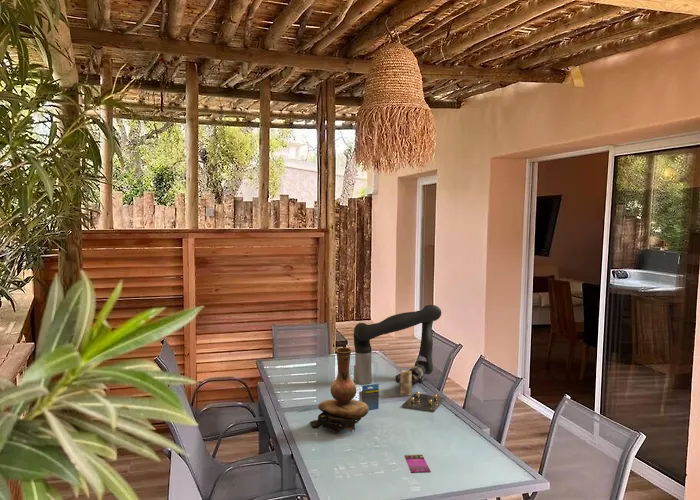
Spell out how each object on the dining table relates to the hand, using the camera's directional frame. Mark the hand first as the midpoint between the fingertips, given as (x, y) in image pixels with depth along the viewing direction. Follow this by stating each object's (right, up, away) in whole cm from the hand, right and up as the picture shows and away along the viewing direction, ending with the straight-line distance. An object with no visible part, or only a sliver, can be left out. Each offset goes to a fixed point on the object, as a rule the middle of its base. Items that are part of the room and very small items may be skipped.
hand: (405, 382), depth 285 cm
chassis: (+8, -7, -14) cm, 17 cm away
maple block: (+1, -7, +2) cm, 7 cm away
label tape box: (-20, -8, -21) cm, 30 cm away
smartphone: (-4, -11, -82) cm, 83 cm away
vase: (-33, -9, -44) cm, 56 cm away
